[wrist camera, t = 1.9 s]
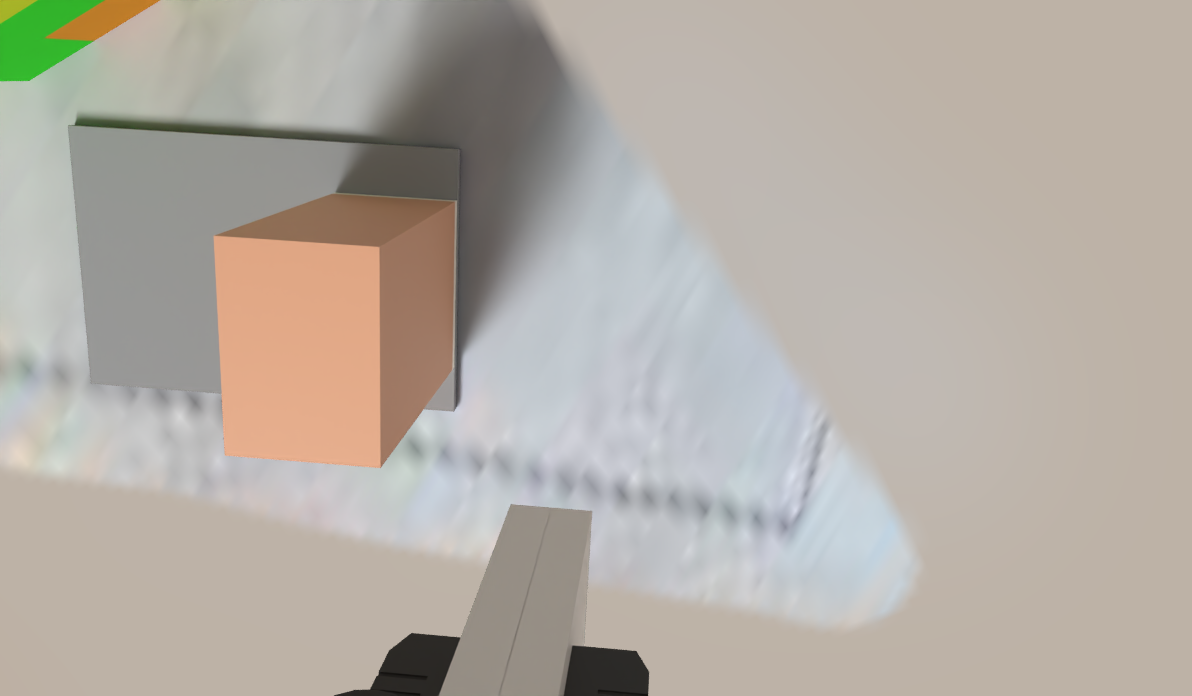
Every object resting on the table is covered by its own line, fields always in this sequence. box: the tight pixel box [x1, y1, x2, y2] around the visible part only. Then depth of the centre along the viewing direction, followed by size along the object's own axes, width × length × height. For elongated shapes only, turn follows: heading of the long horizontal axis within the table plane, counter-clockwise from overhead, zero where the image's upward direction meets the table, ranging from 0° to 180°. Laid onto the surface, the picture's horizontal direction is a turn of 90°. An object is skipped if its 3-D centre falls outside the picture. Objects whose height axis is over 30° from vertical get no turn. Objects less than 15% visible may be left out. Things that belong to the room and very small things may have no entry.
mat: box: [68, 125, 460, 411], centre depth 41 cm, size 11×16×1 cm
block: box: [214, 193, 457, 468], centre depth 35 cm, size 7×5×11 cm
